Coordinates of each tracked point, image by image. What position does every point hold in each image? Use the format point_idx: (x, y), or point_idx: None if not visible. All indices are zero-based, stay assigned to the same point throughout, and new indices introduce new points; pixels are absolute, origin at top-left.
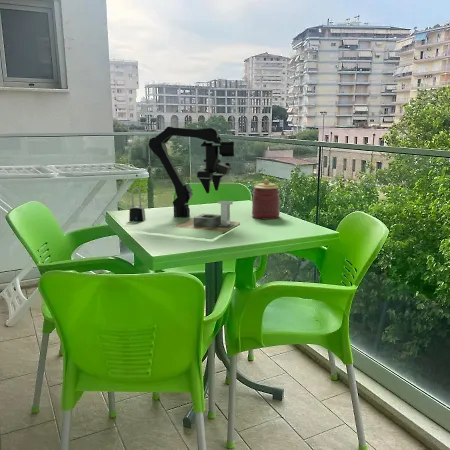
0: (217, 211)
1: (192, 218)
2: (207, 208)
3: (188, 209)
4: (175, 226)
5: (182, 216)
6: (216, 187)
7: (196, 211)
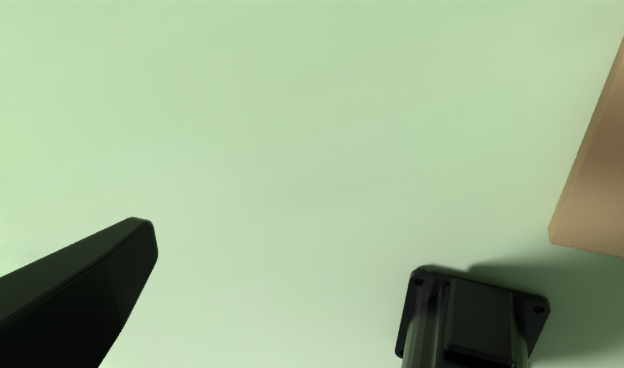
0: (75, 105)
1: (576, 242)
2: (31, 211)
3: (477, 344)
4: None
5: (521, 332)
6: (112, 283)
7: (171, 264)
